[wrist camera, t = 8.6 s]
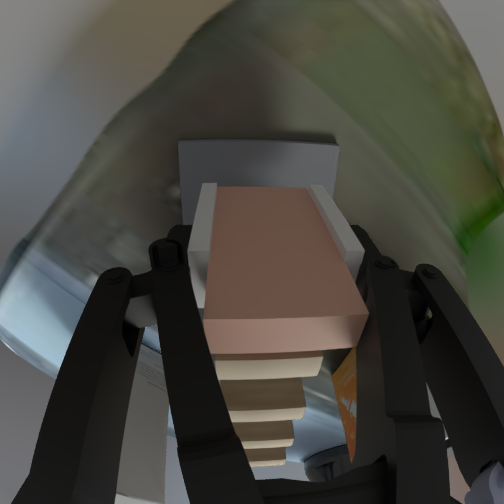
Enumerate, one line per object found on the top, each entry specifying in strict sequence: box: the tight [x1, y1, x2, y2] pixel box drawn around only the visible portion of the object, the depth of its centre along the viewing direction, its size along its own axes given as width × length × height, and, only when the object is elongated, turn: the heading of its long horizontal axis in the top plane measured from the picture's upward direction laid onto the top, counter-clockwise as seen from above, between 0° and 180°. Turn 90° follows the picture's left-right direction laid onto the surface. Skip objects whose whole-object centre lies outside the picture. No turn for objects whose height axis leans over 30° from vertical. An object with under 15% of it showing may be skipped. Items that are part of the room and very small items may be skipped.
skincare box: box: [115, 344, 169, 504], centre depth 23 cm, size 8×7×16 cm
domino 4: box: [232, 420, 295, 449], centre depth 24 cm, size 2×5×10 cm, turn 88°
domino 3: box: [220, 377, 306, 422], centre depth 21 cm, size 2×5×10 cm, turn 88°
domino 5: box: [244, 447, 286, 467], centre depth 27 cm, size 2×5×10 cm, turn 88°
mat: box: [178, 139, 340, 384], centre depth 25 cm, size 25×10×1 cm, turn 178°
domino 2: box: [215, 350, 323, 380], centre depth 18 cm, size 2×5×10 cm, turn 88°
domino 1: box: [203, 187, 369, 354], centre depth 14 cm, size 2×5×10 cm, turn 88°
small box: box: [332, 347, 448, 463], centre depth 26 cm, size 8×6×13 cm
